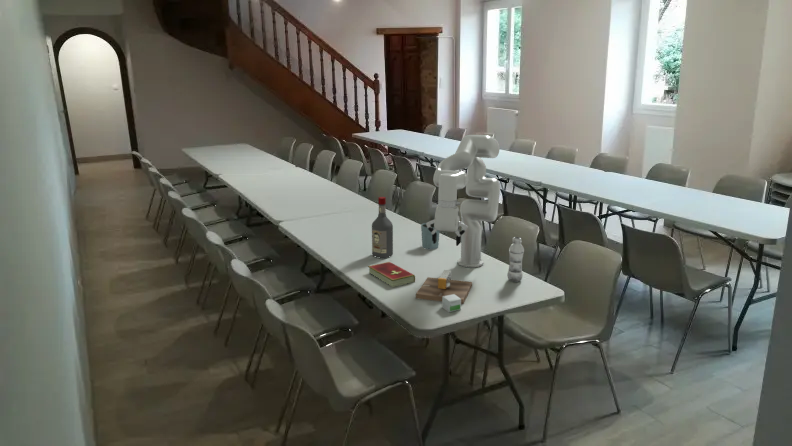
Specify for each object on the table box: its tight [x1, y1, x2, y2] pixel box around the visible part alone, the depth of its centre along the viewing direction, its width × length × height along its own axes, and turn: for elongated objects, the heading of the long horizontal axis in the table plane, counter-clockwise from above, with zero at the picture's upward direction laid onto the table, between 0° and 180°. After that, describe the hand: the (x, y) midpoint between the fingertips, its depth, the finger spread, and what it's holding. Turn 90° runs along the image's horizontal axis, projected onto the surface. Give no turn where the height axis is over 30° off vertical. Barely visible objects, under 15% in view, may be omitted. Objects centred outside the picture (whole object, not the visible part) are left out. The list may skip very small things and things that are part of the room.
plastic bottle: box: [507, 236, 525, 283], centre depth 259 cm, size 6×7×20 cm
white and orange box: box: [437, 269, 452, 289], centre depth 248 cm, size 11×4×6 cm, turn 163°
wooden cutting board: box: [415, 276, 473, 305], centre depth 249 cm, size 20×20×2 cm
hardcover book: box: [367, 261, 416, 288], centre depth 266 cm, size 12×21×4 cm, turn 33°
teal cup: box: [420, 222, 441, 250], centre depth 308 cm, size 10×10×12 cm
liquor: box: [371, 196, 394, 259], centre depth 292 cm, size 9×9×30 cm
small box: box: [441, 294, 462, 313], centre depth 233 cm, size 6×6×5 cm
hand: (446, 243), depth 244 cm, fingers open, 9 cm apart
